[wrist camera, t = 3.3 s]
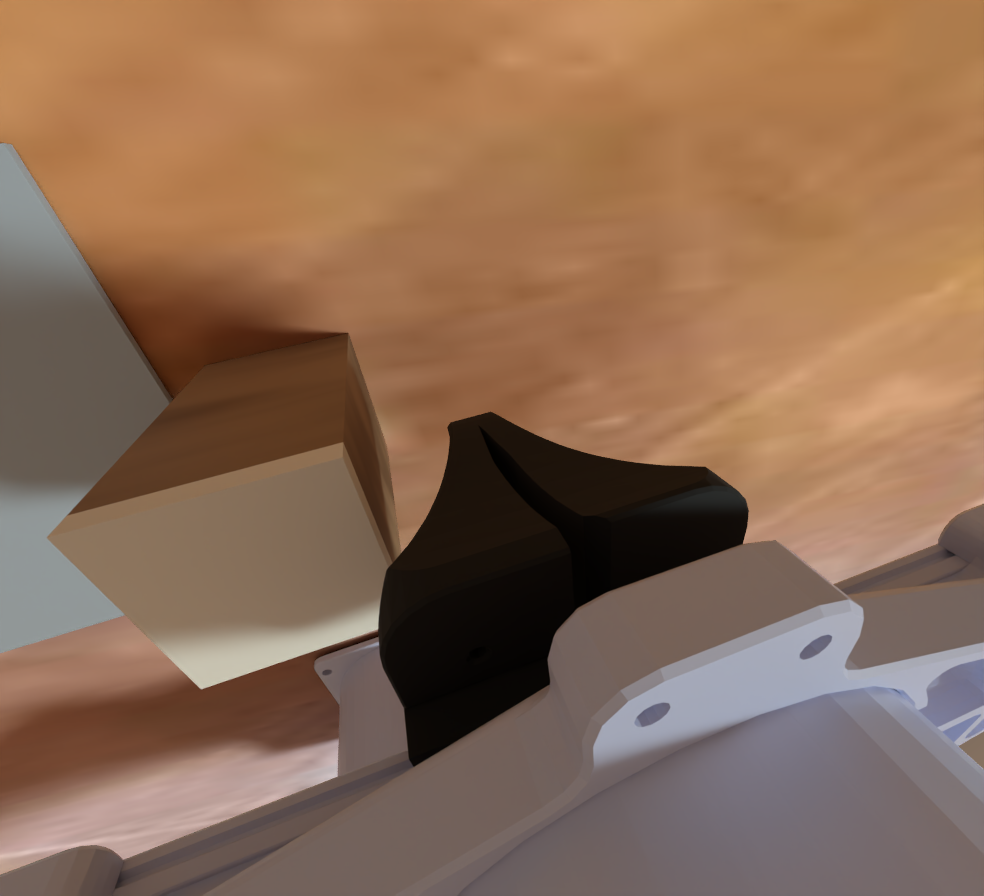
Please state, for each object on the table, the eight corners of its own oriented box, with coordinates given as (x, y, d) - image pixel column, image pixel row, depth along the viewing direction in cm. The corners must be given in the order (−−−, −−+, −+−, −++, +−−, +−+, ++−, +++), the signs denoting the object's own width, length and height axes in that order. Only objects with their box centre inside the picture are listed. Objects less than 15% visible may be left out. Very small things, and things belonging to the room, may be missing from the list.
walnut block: (386, 446, 18) (409, 618, 11) (267, 478, 17) (201, 689, 10) (348, 333, 15) (342, 457, 8) (204, 365, 14) (46, 538, 7)
